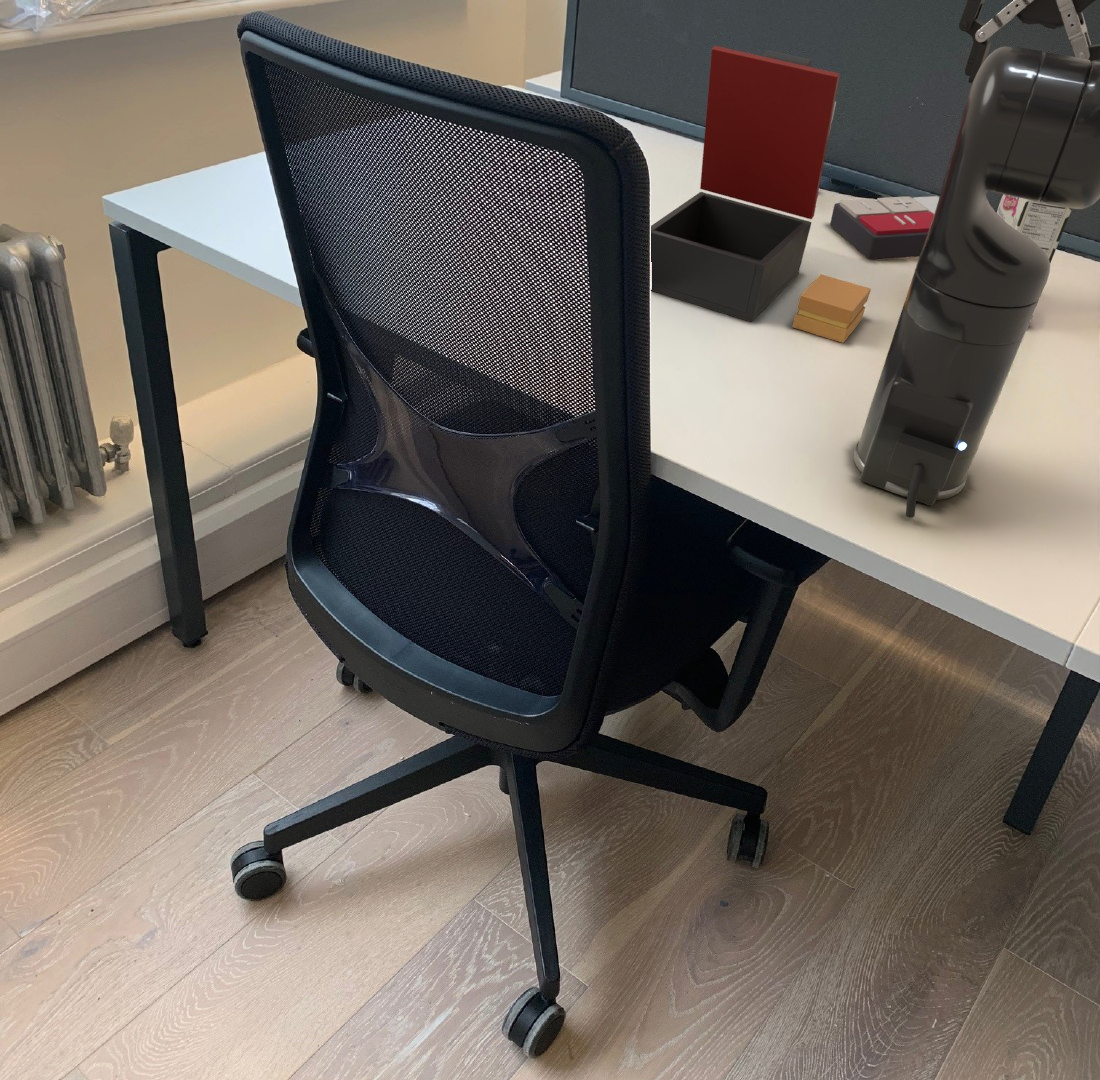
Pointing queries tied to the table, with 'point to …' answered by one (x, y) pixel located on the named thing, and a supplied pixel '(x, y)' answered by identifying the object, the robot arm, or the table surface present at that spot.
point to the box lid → (767, 129)
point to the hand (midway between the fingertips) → (1016, 91)
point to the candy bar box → (1035, 221)
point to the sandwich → (831, 308)
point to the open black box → (726, 254)
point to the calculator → (885, 225)
